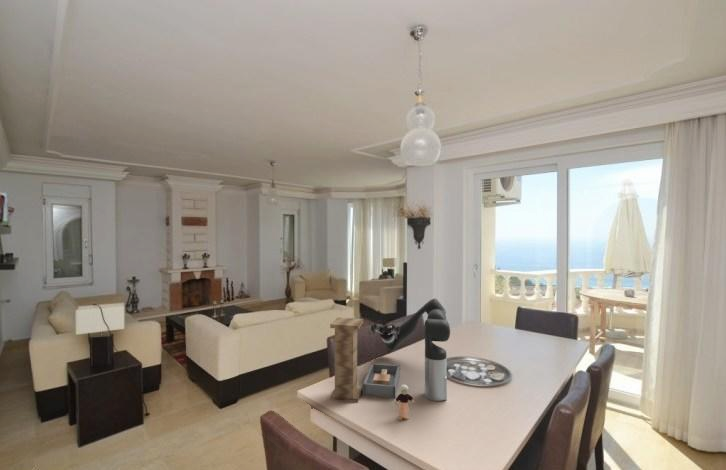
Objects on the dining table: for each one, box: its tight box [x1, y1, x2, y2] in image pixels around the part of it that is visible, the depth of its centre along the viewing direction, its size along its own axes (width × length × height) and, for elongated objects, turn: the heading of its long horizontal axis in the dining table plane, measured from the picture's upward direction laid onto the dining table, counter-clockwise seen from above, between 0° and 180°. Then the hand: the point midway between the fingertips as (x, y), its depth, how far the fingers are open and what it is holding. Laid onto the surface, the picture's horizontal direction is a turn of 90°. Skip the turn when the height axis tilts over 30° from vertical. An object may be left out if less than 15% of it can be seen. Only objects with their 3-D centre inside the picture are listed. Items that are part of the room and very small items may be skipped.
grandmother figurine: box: [393, 384, 415, 421], centre depth 129 cm, size 8×4×13 cm, turn 105°
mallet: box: [373, 369, 390, 385], centre depth 158 cm, size 7×16×4 cm, turn 170°
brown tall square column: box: [329, 317, 364, 403], centre depth 147 cm, size 12×12×32 cm
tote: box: [362, 362, 401, 399], centre depth 157 cm, size 14×24×5 cm, turn 169°
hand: (383, 326), depth 165 cm, fingers open, 8 cm apart
